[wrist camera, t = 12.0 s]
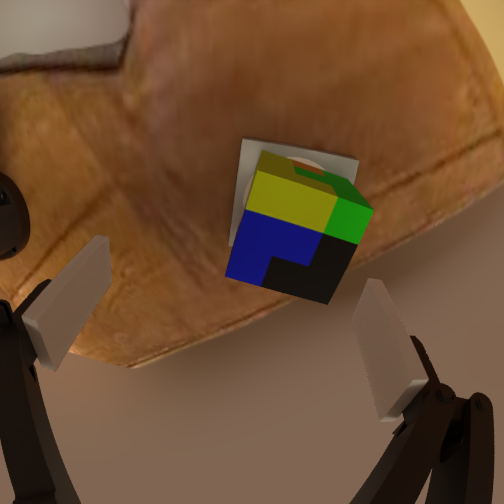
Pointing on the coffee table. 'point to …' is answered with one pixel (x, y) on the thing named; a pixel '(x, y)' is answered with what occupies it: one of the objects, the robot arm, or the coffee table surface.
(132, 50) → the coffee table surface
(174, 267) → the coffee table surface
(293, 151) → the plinth
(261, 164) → the puzzle toy
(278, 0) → the coffee table surface
